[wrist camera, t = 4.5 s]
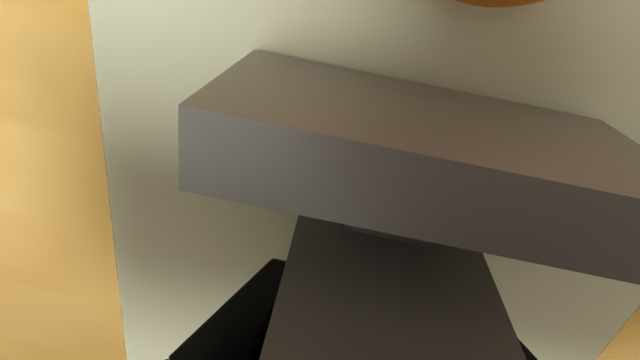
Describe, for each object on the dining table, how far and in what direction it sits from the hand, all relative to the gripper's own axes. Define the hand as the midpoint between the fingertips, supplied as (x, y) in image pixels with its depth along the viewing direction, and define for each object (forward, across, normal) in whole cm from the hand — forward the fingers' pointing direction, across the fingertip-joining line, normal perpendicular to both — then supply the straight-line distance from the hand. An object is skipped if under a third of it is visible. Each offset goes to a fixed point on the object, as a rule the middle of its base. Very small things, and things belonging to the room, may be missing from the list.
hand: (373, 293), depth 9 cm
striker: (+1, 0, -1) cm, 2 cm away
